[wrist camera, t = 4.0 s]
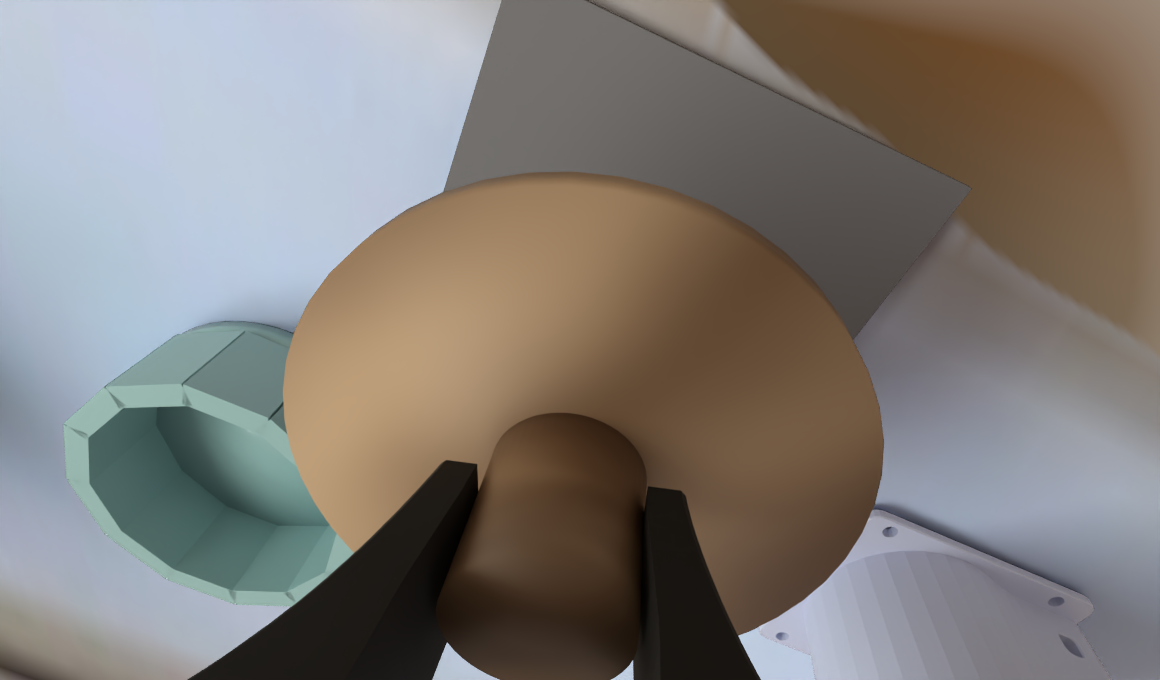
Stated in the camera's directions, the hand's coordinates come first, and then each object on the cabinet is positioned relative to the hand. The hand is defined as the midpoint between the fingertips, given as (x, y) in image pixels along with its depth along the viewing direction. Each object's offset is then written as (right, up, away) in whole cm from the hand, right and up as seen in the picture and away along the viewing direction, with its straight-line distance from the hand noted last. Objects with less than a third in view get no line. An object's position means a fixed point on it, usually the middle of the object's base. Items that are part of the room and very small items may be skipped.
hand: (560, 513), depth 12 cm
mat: (+2, +5, +7) cm, 9 cm away
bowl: (-12, 0, +13) cm, 17 cm away
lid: (0, +1, +2) cm, 2 cm away
